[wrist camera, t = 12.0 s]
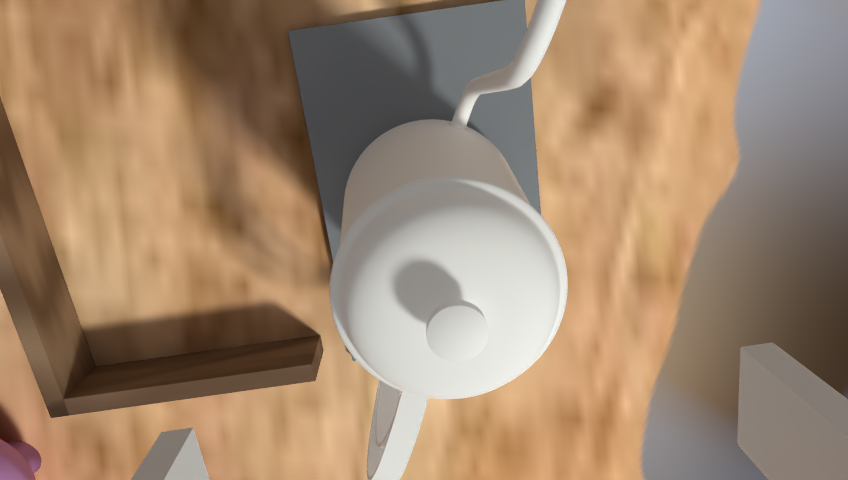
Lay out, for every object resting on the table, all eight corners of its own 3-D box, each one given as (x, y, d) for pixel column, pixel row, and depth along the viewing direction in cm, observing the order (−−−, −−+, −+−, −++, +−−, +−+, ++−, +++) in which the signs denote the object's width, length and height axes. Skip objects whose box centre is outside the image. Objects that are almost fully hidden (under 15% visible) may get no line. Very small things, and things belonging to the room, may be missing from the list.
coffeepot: (578, 21, 34) (776, -25, 16) (457, 380, 41) (501, 628, 23) (401, -35, 33) (401, -153, 15) (307, 345, 40) (229, 580, 22)
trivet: (289, 31, 34) (287, 31, 33) (522, -2, 34) (524, -3, 33) (353, 356, 41) (352, 360, 40) (547, 329, 41) (549, 333, 40)
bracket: (-91, -96, 31) (-159, -118, 28) (219, -141, 31) (194, -169, 27) (83, 384, 40) (50, 417, 37) (323, 350, 40) (315, 380, 37)
